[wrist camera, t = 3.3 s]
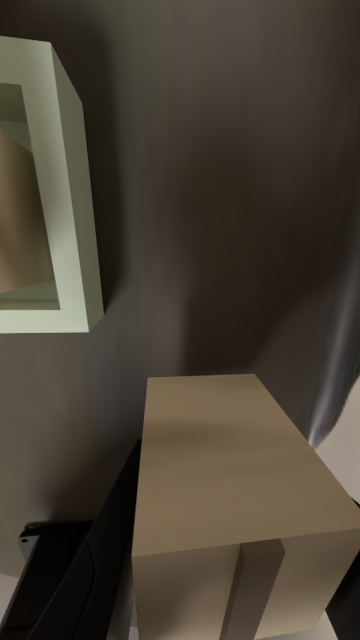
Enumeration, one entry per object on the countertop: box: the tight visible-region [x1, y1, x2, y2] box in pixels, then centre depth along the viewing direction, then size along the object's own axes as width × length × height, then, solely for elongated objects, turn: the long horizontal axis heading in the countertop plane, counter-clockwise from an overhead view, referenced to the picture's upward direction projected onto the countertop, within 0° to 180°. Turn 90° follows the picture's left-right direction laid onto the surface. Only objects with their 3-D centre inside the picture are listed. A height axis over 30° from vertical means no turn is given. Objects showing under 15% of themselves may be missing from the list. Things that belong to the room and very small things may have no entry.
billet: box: [132, 374, 360, 640], centre depth 7 cm, size 5×5×6 cm
